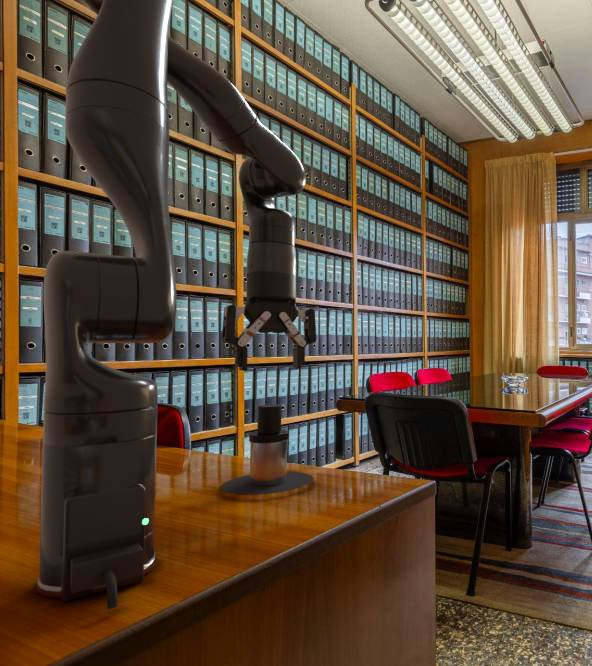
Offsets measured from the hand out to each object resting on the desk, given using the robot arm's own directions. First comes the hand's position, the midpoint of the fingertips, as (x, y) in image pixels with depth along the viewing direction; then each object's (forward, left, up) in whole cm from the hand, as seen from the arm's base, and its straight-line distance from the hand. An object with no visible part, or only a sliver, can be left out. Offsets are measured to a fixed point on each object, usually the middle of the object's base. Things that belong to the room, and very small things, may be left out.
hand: (270, 369), depth 83 cm
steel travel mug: (+2, 0, -19) cm, 19 cm away
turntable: (+1, 0, -20) cm, 20 cm away
